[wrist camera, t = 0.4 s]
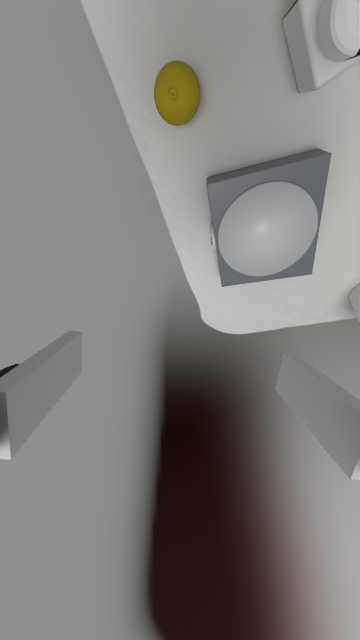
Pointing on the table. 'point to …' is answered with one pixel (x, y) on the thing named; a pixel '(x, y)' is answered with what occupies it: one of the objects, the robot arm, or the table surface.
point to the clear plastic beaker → (355, 300)
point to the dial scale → (268, 217)
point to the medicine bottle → (322, 40)
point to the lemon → (177, 93)
